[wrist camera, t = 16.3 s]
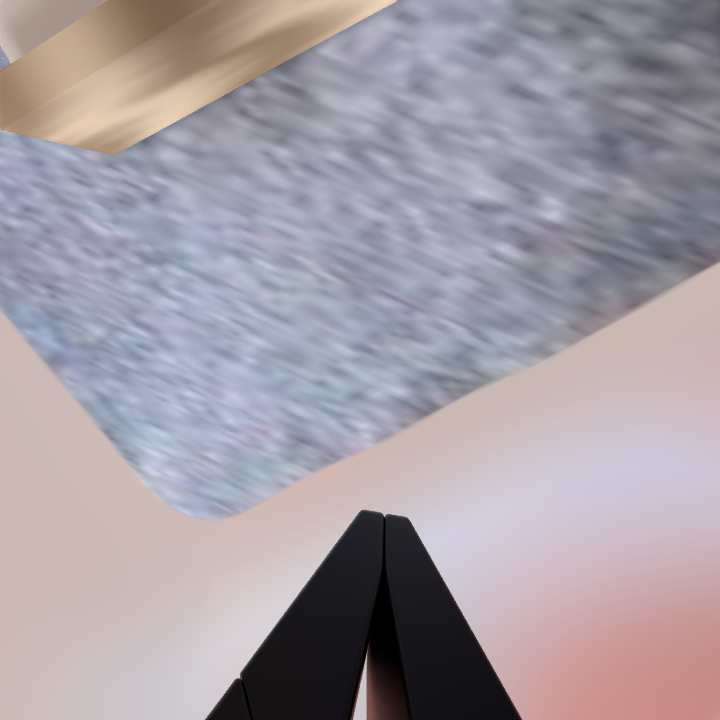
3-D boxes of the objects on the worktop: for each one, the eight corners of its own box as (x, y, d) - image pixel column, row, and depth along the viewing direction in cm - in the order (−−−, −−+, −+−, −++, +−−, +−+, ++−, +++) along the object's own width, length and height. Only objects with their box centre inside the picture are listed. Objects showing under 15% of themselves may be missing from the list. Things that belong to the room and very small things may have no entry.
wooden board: (397, -46, 13) (395, -188, 9) (408, -6, 14) (413, -122, 9) (98, 125, 16) (-25, 86, 12) (114, 155, 17) (1, 130, 12)
